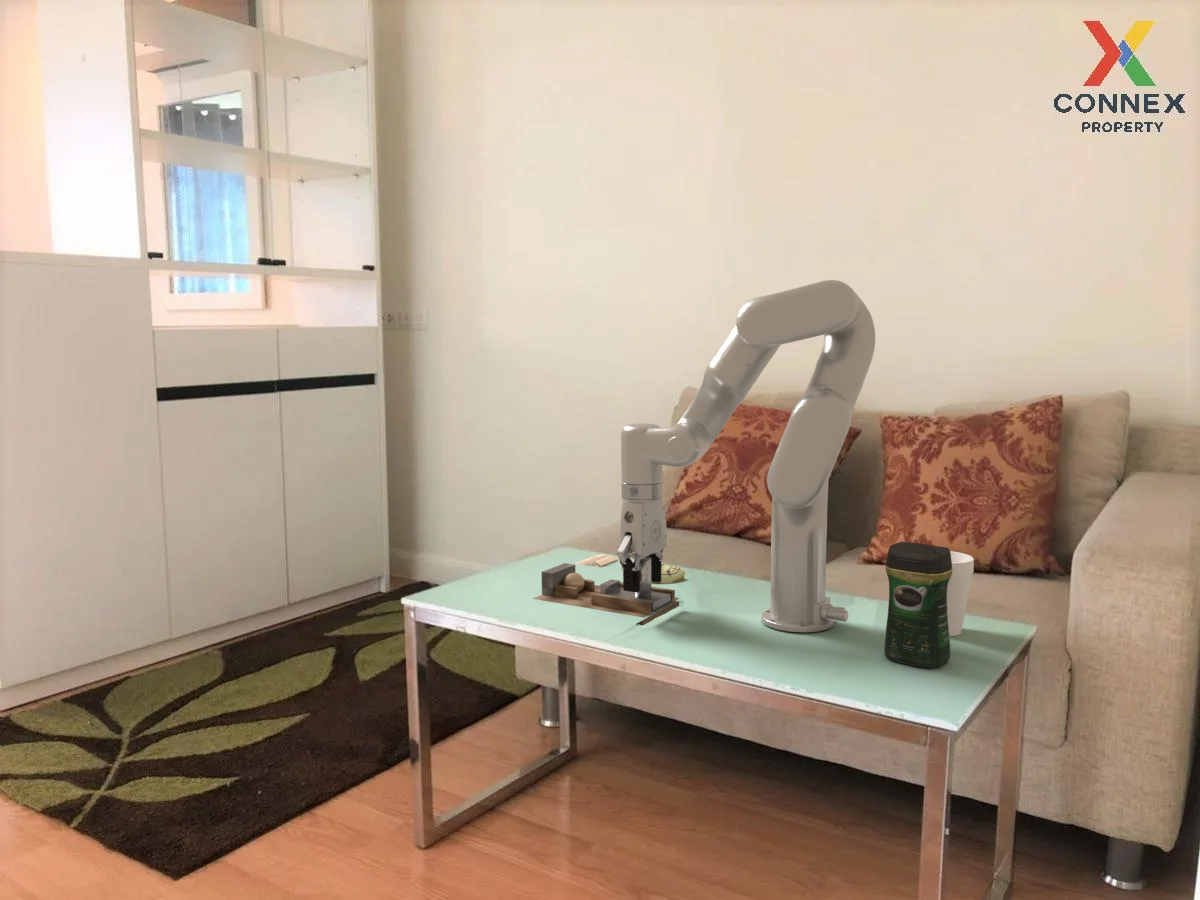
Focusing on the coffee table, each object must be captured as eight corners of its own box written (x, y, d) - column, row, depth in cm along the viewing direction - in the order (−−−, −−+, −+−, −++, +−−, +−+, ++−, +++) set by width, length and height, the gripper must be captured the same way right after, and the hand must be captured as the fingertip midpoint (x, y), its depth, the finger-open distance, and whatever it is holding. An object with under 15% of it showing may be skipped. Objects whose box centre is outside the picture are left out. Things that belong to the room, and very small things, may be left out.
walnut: (588, 592, 190) (588, 571, 189) (577, 597, 186) (576, 576, 186) (571, 589, 192) (571, 569, 191) (559, 594, 188) (559, 573, 188)
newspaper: (595, 560, 225) (595, 552, 224) (621, 564, 221) (621, 556, 221) (534, 583, 205) (534, 575, 205) (562, 588, 201) (562, 579, 201)
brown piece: (679, 605, 185) (679, 574, 184) (643, 625, 173) (642, 592, 172) (573, 589, 197) (573, 560, 197) (532, 606, 186) (532, 575, 185)
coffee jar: (956, 659, 154) (960, 543, 151) (936, 673, 148) (940, 553, 145) (897, 646, 160) (901, 535, 158) (876, 659, 154) (879, 544, 152)
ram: (670, 601, 182) (670, 556, 181) (652, 610, 176) (652, 564, 175) (615, 593, 188) (614, 549, 187) (596, 601, 182) (595, 556, 181)
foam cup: (901, 626, 171) (903, 553, 169) (944, 619, 174) (946, 548, 173) (938, 642, 162) (941, 565, 161) (982, 635, 165) (985, 560, 164)
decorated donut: (674, 594, 194) (674, 575, 193) (624, 588, 198) (624, 570, 198) (691, 581, 203) (691, 563, 203) (643, 576, 208) (643, 559, 207)
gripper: (636, 500, 169) (636, 600, 171) (682, 486, 184) (682, 578, 186) (599, 497, 173) (600, 594, 175) (647, 483, 188) (647, 573, 190)
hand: (642, 585), depth 180 cm, fingers open, 7 cm apart
